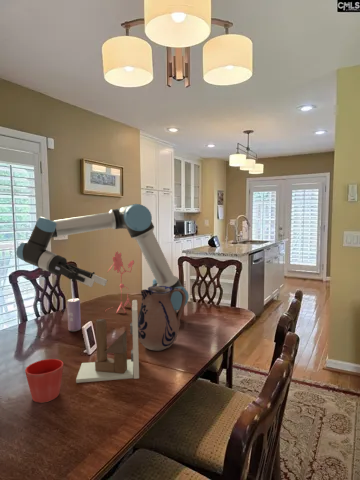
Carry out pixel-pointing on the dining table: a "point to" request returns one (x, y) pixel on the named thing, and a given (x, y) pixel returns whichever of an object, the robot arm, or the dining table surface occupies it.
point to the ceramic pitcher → (159, 317)
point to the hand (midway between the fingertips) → (99, 283)
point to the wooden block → (110, 351)
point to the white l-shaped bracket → (88, 369)
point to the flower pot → (44, 379)
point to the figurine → (117, 266)
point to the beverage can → (73, 314)
